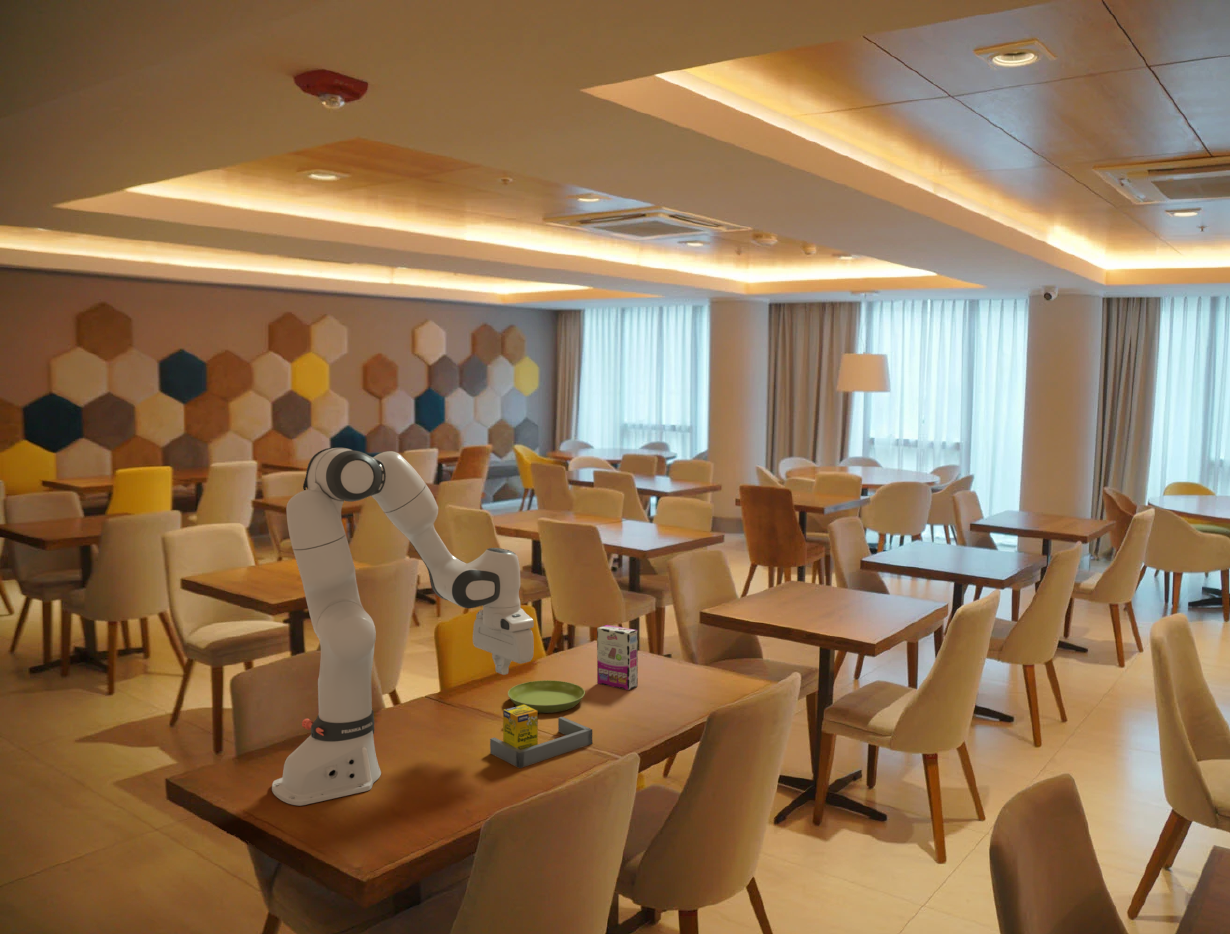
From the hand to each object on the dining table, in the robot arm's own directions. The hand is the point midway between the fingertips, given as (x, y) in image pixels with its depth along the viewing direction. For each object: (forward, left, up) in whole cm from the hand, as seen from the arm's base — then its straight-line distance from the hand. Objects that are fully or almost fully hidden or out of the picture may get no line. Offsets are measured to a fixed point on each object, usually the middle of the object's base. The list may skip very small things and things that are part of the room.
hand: (501, 673), depth 223 cm
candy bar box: (+49, +13, -17) cm, 53 cm away
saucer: (+25, +15, -17) cm, 34 cm away
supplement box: (-2, -10, -17) cm, 20 cm away
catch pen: (+4, -10, -17) cm, 20 cm away
